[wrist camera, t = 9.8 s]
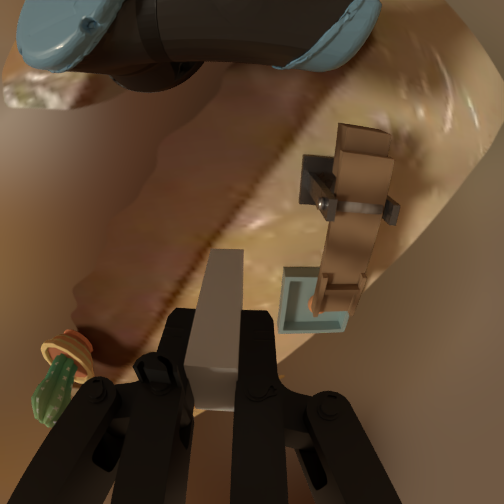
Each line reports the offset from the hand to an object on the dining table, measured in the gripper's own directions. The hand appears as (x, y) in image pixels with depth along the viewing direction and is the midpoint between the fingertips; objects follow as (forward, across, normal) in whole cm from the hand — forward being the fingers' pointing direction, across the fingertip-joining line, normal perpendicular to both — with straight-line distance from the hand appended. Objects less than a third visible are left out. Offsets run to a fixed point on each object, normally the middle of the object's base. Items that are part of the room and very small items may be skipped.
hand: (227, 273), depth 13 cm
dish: (+26, +13, -23) cm, 37 cm away
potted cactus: (+27, -42, -41) cm, 64 cm away
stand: (+26, +13, -2) cm, 30 cm away
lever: (+20, +13, -5) cm, 25 cm away
